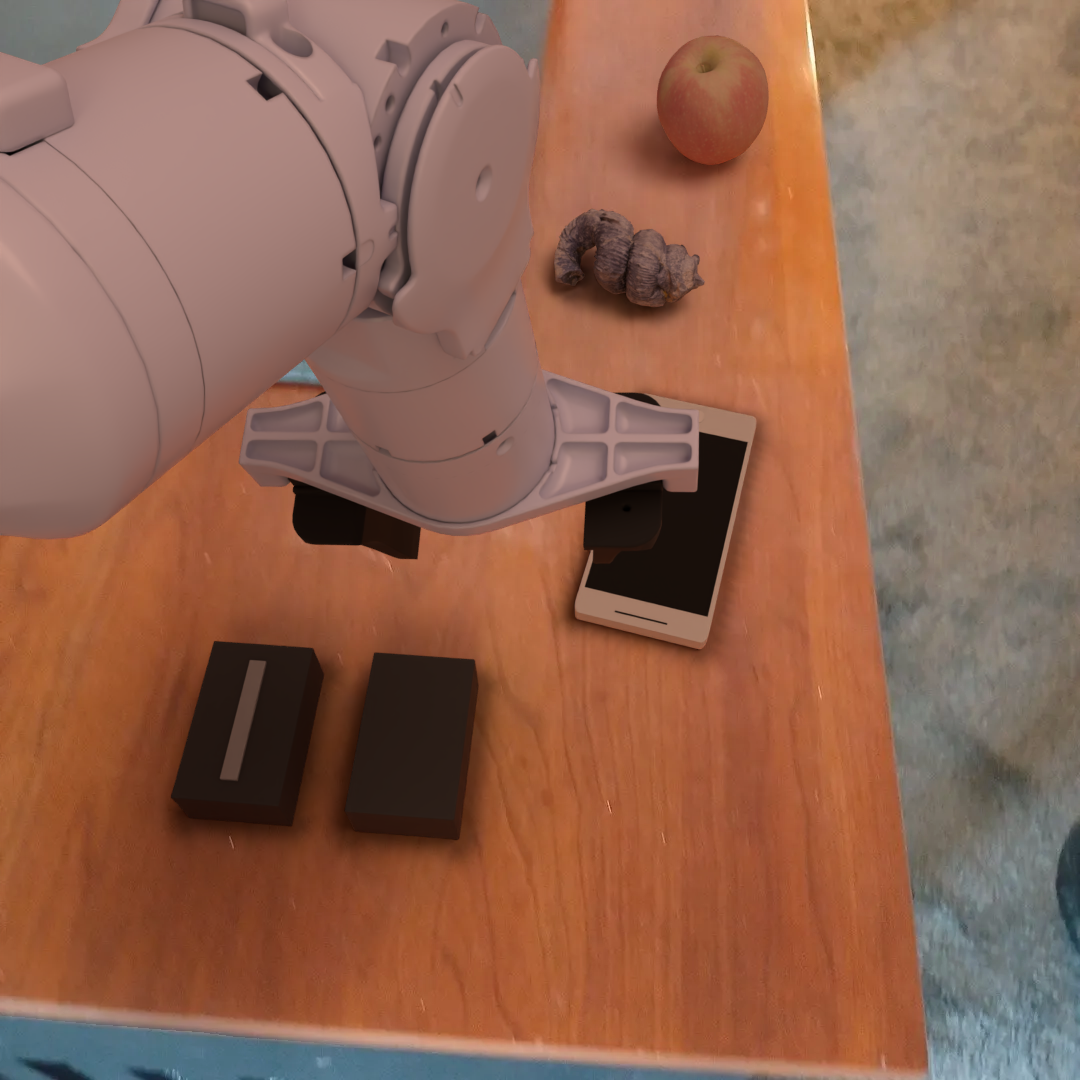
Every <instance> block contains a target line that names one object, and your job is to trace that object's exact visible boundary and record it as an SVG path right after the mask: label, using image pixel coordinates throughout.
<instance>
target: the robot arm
mask: <svg viewBox="0 0 1080 1080" xmlns="http://www.w3.org/2000/svg"><path fill="white" fill-rule="evenodd" d="M479 10H480V6H476V5H474V4H472V3H469V2H465V1H462V0H119V2H118V4H117V7H116V9H115V11H114V14H113V16H112V19H111V20H110V22H109V23H108V25H107V27H106V28H105V29H104V30H103V32H102V33H101V34H99V35H98V36H97V37H96V38H94V39H92V40H90V41H87V42H85V43H82V44H80V45H78V46H76V48H75V51H74V52H72V53H68V54H66V55H63V56H61V57H58V58H55V59H53V60H51V61H48V62H45V63H43V64H39V63H36V62H33V61H30V60H27V59H24V58H21V57H18V56H15V55H12V54H9V53H6V52H2V51H0V536H5V537H15V538H16V537H17V538H24V539H33V540H67V539H73V538H78V537H81V536H84V535H86V534H89V533H90V532H92V531H95V530H96V529H98V528H99V527H101V526H103V525H104V524H105V523H107V522H108V521H110V520H111V519H112V518H113V517H114V516H115V515H117V514H118V513H119V512H121V511H122V510H123V509H124V508H125V507H126V506H128V505H129V504H130V503H131V502H133V501H134V500H136V498H138V496H139V495H140V494H142V493H144V492H145V491H146V490H147V489H148V488H149V487H151V486H152V485H153V484H154V483H156V482H157V481H158V480H159V479H161V477H163V476H164V475H165V474H166V473H168V472H170V470H171V469H173V468H174V467H175V466H177V464H178V463H180V462H181V461H182V460H183V459H185V458H186V457H187V456H188V455H190V454H191V453H193V452H194V450H197V448H199V446H200V445H202V444H204V442H205V441H207V440H208V439H209V438H211V436H213V435H214V434H215V433H217V432H218V431H219V430H220V429H221V428H223V427H224V426H225V425H226V424H227V423H229V422H230V421H231V420H233V419H234V418H235V417H236V416H237V415H239V414H240V413H241V412H242V411H244V409H246V408H247V407H248V406H249V405H251V404H252V403H253V402H255V400H257V399H258V398H259V397H260V396H262V395H263V394H264V393H265V392H266V391H268V390H269V389H270V388H271V387H272V386H274V385H275V384H276V383H278V382H279V381H280V380H282V378H284V377H285V376H286V375H288V374H289V373H290V372H291V371H293V369H295V368H296V367H297V366H298V365H299V364H301V363H302V362H303V361H305V362H306V364H307V366H308V367H309V369H310V370H311V372H312V373H313V375H314V377H315V378H316V379H317V381H318V382H319V384H320V386H321V387H322V388H323V390H324V391H322V392H320V393H319V394H317V395H315V396H313V397H311V398H308V399H305V400H301V401H297V402H293V403H290V404H285V405H280V406H272V407H271V406H270V407H253V408H252V407H250V408H248V409H247V411H246V415H245V423H244V427H243V432H242V433H243V434H242V438H241V439H242V440H241V445H240V451H239V457H238V465H240V467H241V468H242V469H243V470H244V471H245V472H246V473H247V474H248V475H249V476H250V477H251V478H252V479H253V480H254V482H256V483H257V484H258V485H259V487H262V488H265V487H266V488H282V487H287V486H288V485H289V484H291V485H292V486H293V487H292V493H293V494H294V501H293V508H292V513H291V515H292V516H291V517H292V518H291V523H292V528H293V530H294V531H295V533H296V536H297V537H299V538H300V539H301V540H302V541H303V542H304V543H305V544H308V545H313V546H350V547H351V546H353V547H354V546H355V547H356V546H357V547H358V546H363V547H366V548H368V549H372V550H374V551H377V552H379V553H382V554H385V555H387V556H389V557H391V558H395V559H398V560H418V559H419V550H420V541H421V532H422V529H424V530H427V531H429V532H433V533H436V534H440V535H445V536H450V537H451V536H452V537H471V536H478V535H484V534H488V533H493V532H495V531H499V530H502V529H505V528H507V527H511V526H514V525H517V524H521V523H524V522H527V521H529V520H532V519H536V518H539V517H542V516H546V515H548V514H551V513H554V512H558V511H561V510H564V509H567V508H570V507H573V506H576V505H579V504H582V503H584V504H585V505H584V520H583V521H584V522H583V540H582V541H583V543H582V547H583V550H584V551H591V550H593V563H609V564H610V563H611V562H612V561H613V559H614V558H615V556H616V555H617V554H618V553H619V552H621V551H641V550H648V549H651V548H652V547H653V546H654V544H655V542H656V540H657V538H658V536H659V533H660V529H661V524H662V491H663V487H664V488H665V489H666V490H667V491H671V492H696V491H697V484H698V466H699V411H698V410H696V409H676V408H667V407H661V406H660V405H659V403H658V402H657V401H656V400H655V399H653V398H652V397H650V396H648V395H646V394H647V393H646V394H643V392H636V391H635V392H634V391H633V392H631V391H630V392H629V391H627V392H624V391H623V392H621V391H620V392H614V391H613V392H612V391H608V390H606V389H603V388H600V387H598V386H594V385H591V384H589V383H585V382H583V381H579V380H576V379H573V378H571V377H568V376H565V375H561V374H558V373H555V372H552V371H549V370H546V369H544V368H542V364H541V361H540V355H539V352H538V348H537V341H536V337H535V332H534V329H533V324H532V320H531V315H530V311H529V308H528V303H527V300H526V299H527V298H526V295H525V291H524V285H523V282H522V277H523V275H524V273H525V271H526V269H527V267H528V265H529V262H530V260H531V254H532V251H531V242H532V240H533V237H534V234H535V229H534V224H533V220H532V214H531V207H530V185H531V176H532V170H533V165H534V159H535V156H536V155H535V154H536V148H537V141H538V133H539V124H540V113H541V112H540V111H541V80H540V79H541V77H540V68H539V60H538V58H535V57H532V58H530V59H529V61H528V62H527V66H526V63H525V60H524V58H523V57H521V56H520V55H519V54H518V52H517V51H516V50H515V49H513V48H511V47H509V46H506V45H504V44H503V42H502V39H501V37H500V34H499V31H498V29H497V27H496V25H495V24H494V22H493V20H492V18H491V17H490V16H489V14H487V13H484V12H480V11H479Z"/></svg>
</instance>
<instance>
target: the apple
mask: <svg viewBox="0 0 1080 1080" xmlns="http://www.w3.org/2000/svg"><path fill="white" fill-rule="evenodd" d="M769 95H770V94H769V82H768V78H767V74H766V69H765V68H764V66H763V64H762V62H761V60H760V59H759V57H758V56H757V55H756V54H755V53H754V52H753V51H751V50H750V48H747V47H746V46H745V45H743V44H742V43H741V42H739V41H738V40H735V39H733V38H730V37H727V36H723V35H704V36H703V35H702V36H699V37H696V38H694V39H690V40H688V41H687V42H685V43H684V44H683V45H681V47H680V48H678V49H677V50H676V51H675V52H674V54H673V55H672V56H671V57H670V59H669V60H668V61H667V62H666V64H665V66H664V68H663V70H662V71H661V74H660V77H659V80H658V85H657V91H656V112H657V116H658V120H659V123H660V125H661V127H662V129H663V131H664V133H665V135H666V136H667V138H668V140H669V141H670V143H671V144H672V145H673V147H674V148H675V149H676V150H677V151H678V152H679V153H680V154H681V155H682V156H684V157H686V158H687V159H688V160H690V161H691V162H695V163H697V164H700V165H707V166H714V165H715V166H716V165H719V164H723V163H727V162H728V161H731V160H733V159H735V158H738V157H739V156H741V155H742V154H744V153H745V152H746V151H747V150H748V149H749V148H750V147H751V146H752V145H753V144H754V142H755V141H756V139H757V138H758V136H759V134H760V133H761V131H762V129H763V127H764V124H765V123H766V119H767V116H768V115H767V114H768V108H769V99H770V96H769Z"/></svg>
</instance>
